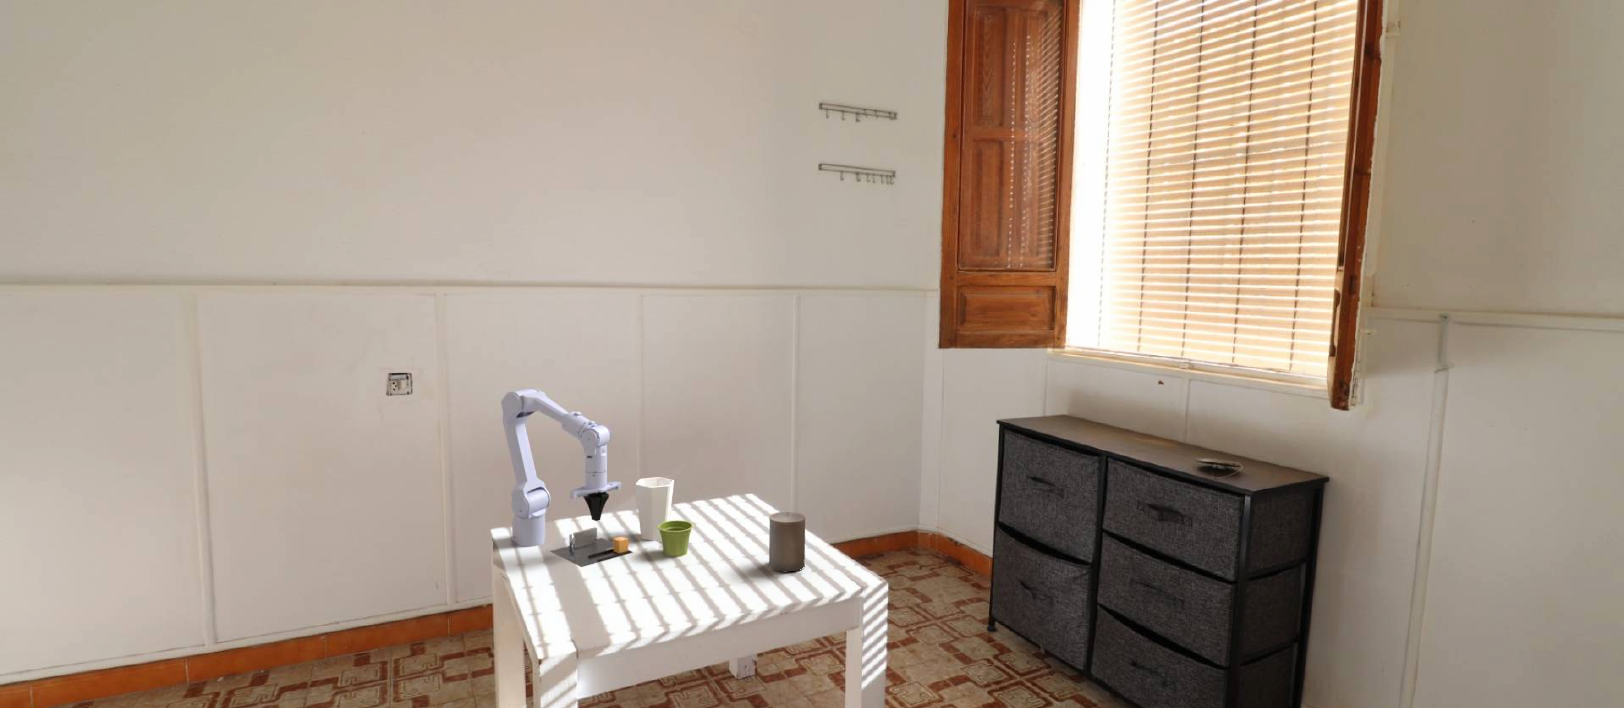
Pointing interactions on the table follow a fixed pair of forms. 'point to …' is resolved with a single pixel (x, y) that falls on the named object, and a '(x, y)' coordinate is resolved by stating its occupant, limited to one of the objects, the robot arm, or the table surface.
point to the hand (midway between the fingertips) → (595, 519)
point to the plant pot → (675, 537)
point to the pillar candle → (787, 541)
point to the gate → (584, 537)
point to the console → (589, 552)
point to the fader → (620, 544)
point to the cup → (653, 505)
